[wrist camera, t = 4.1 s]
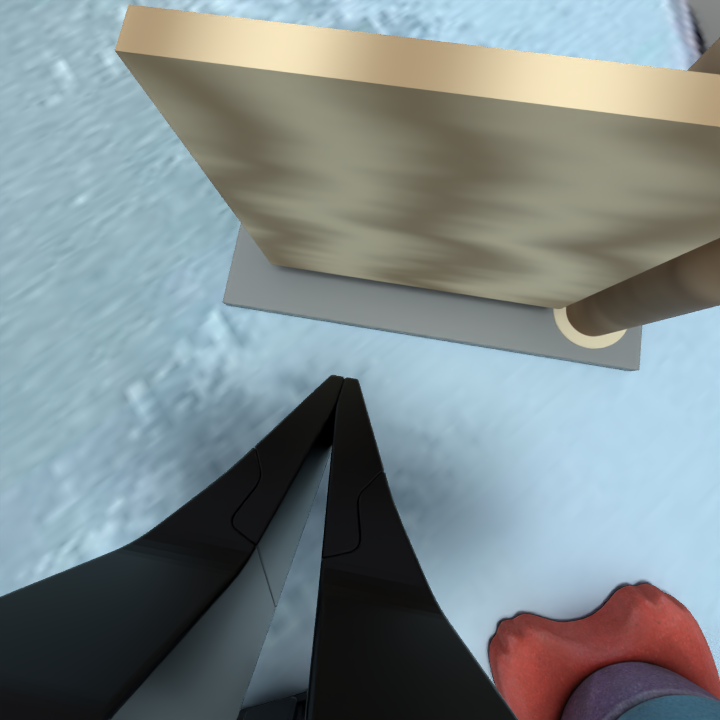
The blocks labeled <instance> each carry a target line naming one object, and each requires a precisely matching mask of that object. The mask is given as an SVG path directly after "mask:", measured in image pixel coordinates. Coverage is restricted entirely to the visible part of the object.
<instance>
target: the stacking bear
mask: <svg viewBox="0 0 720 720" xmlns="http://www.w3.org/2000/svg"><path fill="white" fill-rule="evenodd" d="M489 659H490V665H491V669H492V674H493V678H494V682H495V685H496V688H497V690H498V691H499V693H500V694H501V695H502V697H503V698H504V700H505V701H506V703H507V704H508V705H509V707H510V708H511V710H512V711H513V712H514V714H515V715H516V717H517V718H518V719H519V720H720V679H719V676H718V672H717V668H716V665H715V662H714V659H713V656H712V654H711V651H710V649H709V646H708V643H707V641H706V639H705V637H704V635H703V633H702V631H701V629H700V627H699V625H698V623H697V621H696V620H695V618H694V617H693V616H692V614H691V613H690V611H689V610H688V609H687V608H686V607H685V606H684V605H683V604H682V603H680V602H679V601H678V600H677V599H675V598H674V597H673V596H671V595H669V594H666V593H663V592H662V591H661V590H660V589H658V588H657V587H655V586H653V585H650V584H640V585H637V586H632V585H630V586H625V587H622V588H621V589H619V590H618V591H616V592H615V593H614V594H613V595H612V596H611V598H610V599H609V600H608V601H607V603H606V604H605V605H604V606H603V607H602V608H601V609H600V610H598V611H597V612H596V613H594V614H593V615H591V616H589V617H586V618H584V619H581V620H576V621H571V622H556V621H552V620H548V619H545V618H542V617H539V616H536V615H533V614H522V615H519V616H517V617H515V618H514V619H512V620H504V621H503V622H501V624H500V626H499V628H498V631H497V634H496V635H495V636H494V638H493V639H492V641H491V644H490V649H489Z"/></svg>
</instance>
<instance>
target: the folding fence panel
mask: <svg viewBox="0 0 720 720" xmlns="http://www.w3.org/2000/svg"><path fill="white" fill-rule="evenodd" d="M115 51H116V53H117V54H118V56H119V57H120V58H121V60H122V61H123V62H124V64H125V65H126V66H127V68H128V69H129V71H130V72H131V73H132V75H133V76H134V77H135V79H136V80H137V81H138V83H139V84H140V86H141V87H142V88H143V90H144V91H145V92H146V94H147V95H148V96H149V98H150V99H151V101H152V102H153V103H154V105H155V106H156V107H157V109H158V110H159V111H160V113H161V114H162V116H163V117H164V118H165V120H166V121H167V122H168V124H169V125H170V126H171V128H172V129H173V131H174V132H175V133H176V135H177V136H178V137H179V139H180V140H181V141H182V143H183V144H184V146H185V147H186V148H187V150H188V151H189V152H190V154H191V155H192V157H193V158H194V159H195V161H196V162H197V163H198V165H199V166H200V167H201V169H202V170H203V172H204V173H205V174H206V176H207V177H208V178H209V180H210V181H211V182H212V184H213V185H214V187H215V188H216V189H217V191H218V192H219V193H220V195H221V196H222V197H223V199H224V200H225V202H226V203H227V204H228V206H229V207H230V208H231V210H232V211H233V212H234V214H235V215H236V217H237V218H238V219H239V221H240V222H241V223H242V225H243V226H244V227H245V229H246V230H247V232H248V233H249V234H250V236H251V237H252V238H253V240H254V241H255V242H256V244H257V245H258V247H259V248H260V249H261V251H262V252H263V253H264V255H265V256H266V257H267V259H268V260H269V262H270V263H271V264H273V265H279V266H286V267H292V268H299V269H305V270H311V271H318V272H324V273H331V274H337V275H343V276H350V277H356V278H363V279H369V280H375V281H382V282H388V283H395V284H401V285H407V286H414V287H420V288H427V289H433V290H439V291H446V292H452V293H459V294H465V295H471V296H478V297H484V298H491V299H497V300H504V301H510V302H516V303H523V304H529V305H536V306H542V307H548V308H555V309H562V308H564V307H566V306H568V305H571V304H573V303H575V302H577V301H579V300H582V299H584V298H586V297H588V296H591V295H593V294H595V293H597V292H600V291H602V290H604V289H606V288H609V287H611V286H613V285H615V284H617V283H620V282H622V281H624V280H626V279H629V278H631V277H633V276H635V275H638V274H640V273H642V272H644V271H646V270H649V269H651V268H653V267H655V266H658V265H660V264H662V263H664V262H667V261H669V260H671V259H673V258H676V257H678V256H680V255H682V254H684V253H687V252H689V251H691V250H693V249H696V248H698V247H700V246H702V245H705V244H707V243H709V242H711V241H713V240H716V239H718V238H720V75H719V74H710V73H702V72H693V71H685V70H676V69H668V68H659V67H651V66H643V65H634V64H626V63H617V62H609V61H600V60H592V59H584V58H575V57H567V56H558V55H550V54H541V53H533V52H525V51H516V50H508V49H499V48H491V47H482V46H474V45H465V44H457V43H449V42H440V41H432V40H423V39H415V38H406V37H398V36H390V35H381V34H373V33H364V32H356V31H347V30H339V29H331V28H322V27H314V26H305V25H297V24H288V23H280V22H272V21H263V20H255V19H246V18H238V17H229V16H221V15H212V14H204V13H196V12H187V11H179V10H170V9H162V8H153V7H145V6H137V5H129V6H128V9H127V12H126V15H125V19H124V22H123V25H122V29H121V32H120V35H119V38H118V42H117V45H116V48H115Z"/></svg>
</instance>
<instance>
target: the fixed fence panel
mask: <svg viewBox="0 0 720 720" xmlns="http://www.w3.org/2000/svg"><path fill="white" fill-rule="evenodd" d="M687 71H693V72H702V73H710V74H719V75H720V38H719V39H718V40H717V41H716V42H715V43H714V44H713V45H712V46H711V47H710V48H709V49H708V50H707V51H706V52H705V53H704V54H703V55H702V56H701V57H700V58H699V59H698V60H697V61H696V62H695V63H694V64H693V65H692V66H691V67H690V68H689V69H688V70H687ZM719 305H720V238H718V239H716V240H713V241H711V242H709V243H707V244H705V245H702V246H700V247H698V248H696V249H693V250H691V251H689V252H687V253H684V254H682V255H680V256H678V257H676V258H673V259H671V260H669V261H667V262H664V263H662V264H660V265H658V266H655V267H653V268H651V269H649V270H646V271H644V272H642V273H640V274H638V275H635V276H633V277H631V278H629V279H626V280H624V281H622V282H620V283H617V284H615V285H613V286H611V287H609V288H606V289H604V290H602V291H600V292H597V293H595V294H593V295H591V296H588V297H586V298H584V299H582V300H579V301H577V302H575V303H573V304H571V305H568V306H566V315H567V318H568V321H569V322H570V324H571V325H572V327H573V328H574V329H575V330H577V331H578V332H580V333H581V334H584V335H586V336H593V337H595V336H601V335H605V334H609V333H613V332H617V331H621V330H625V329H629V328H633V327H637V326H641V325H644V324H648V323H652V322H656V321H660V320H664V319H668V318H672V317H676V316H680V315H683V314H687V313H691V312H695V311H699V310H703V309H707V308H711V307H715V306H719Z"/></svg>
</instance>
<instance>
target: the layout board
mask: <svg viewBox="0 0 720 720" xmlns="http://www.w3.org/2000/svg"><path fill="white" fill-rule="evenodd" d="M223 303H225V304H226V305H230V306H236V307H242V308H248V309H254V310H260V311H266V312H273V313H279V314H285V315H291V316H297V317H303V318H309V319H315V320H321V321H328V322H334V323H340V324H346V325H352V326H358V327H364V328H370V329H376V330H383V331H389V332H395V333H401V334H407V335H413V336H419V337H425V338H431V339H438V340H444V341H450V342H456V343H462V344H468V345H474V346H480V347H486V348H493V349H499V350H505V351H511V352H517V353H523V354H529V355H535V356H542V357H548V358H554V359H560V360H566V361H572V362H578V363H584V364H590V365H597V366H603V367H609V368H615V369H621V370H627V371H635V370H639V365H640V350H641V335H642V325H641V326H637V327H633V328H629V329H625V330H621V331H617V332H613V333H609V334H605V335H601V336H595V337H593V336H586V335H584V334H581V333H580V332H578V331H577V330H575V329H574V328H573V327H572V325H571V324H570V322H569V321H568V318H567V315H566V307H564V308H562V309H555V308H548V307H542V306H536V305H529V304H523V303H516V302H510V301H504V300H497V299H491V298H484V297H478V296H471V295H465V294H459V293H452V292H446V291H439V290H433V289H427V288H420V287H414V286H407V285H401V284H395V283H388V282H382V281H375V280H369V279H363V278H356V277H350V276H343V275H337V274H331V273H324V272H318V271H311V270H305V269H299V268H292V267H286V266H279V265H273V264H271V263H270V262H269V260H268V259H267V257H266V256H265V255H264V253H263V252H262V251H261V249H260V248H259V247H258V245H257V244H256V242H255V241H254V240H253V238H252V237H251V236H250V234H249V233H248V232H247V230H246V229H245V227H244V226H243V225H242V223H241V225H240V229H239V233H238V238H237V242H236V246H235V251H234V255H233V259H232V264H231V268H230V272H229V277H228V281H227V285H226V289H225V294H224V298H223Z"/></svg>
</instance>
